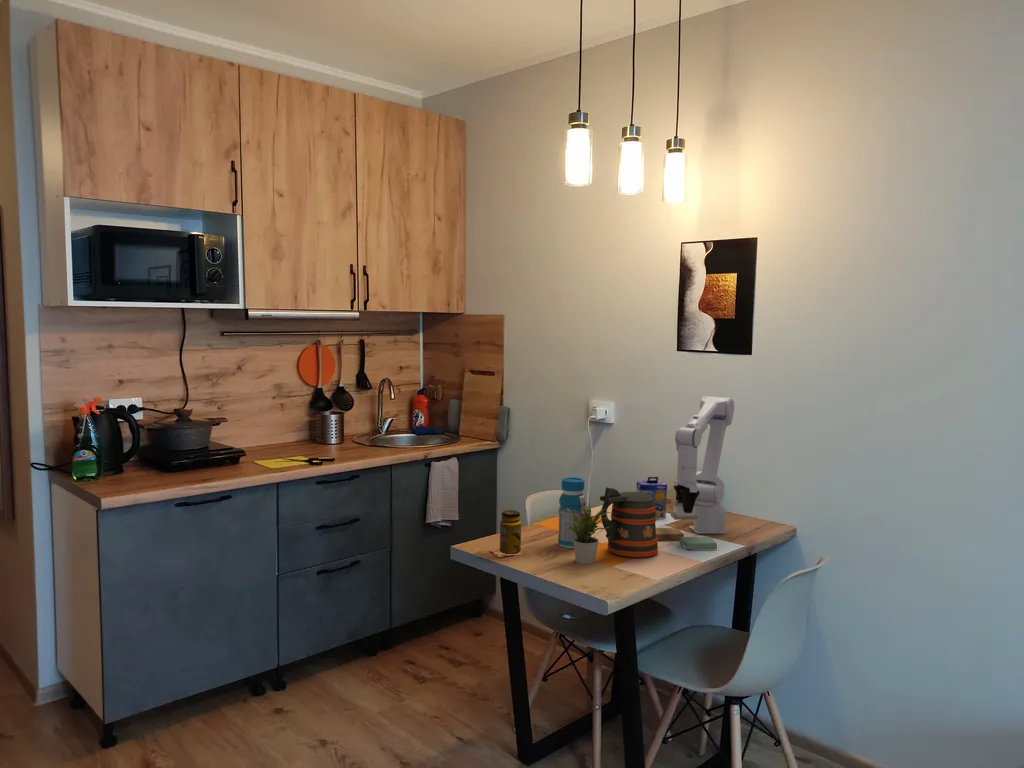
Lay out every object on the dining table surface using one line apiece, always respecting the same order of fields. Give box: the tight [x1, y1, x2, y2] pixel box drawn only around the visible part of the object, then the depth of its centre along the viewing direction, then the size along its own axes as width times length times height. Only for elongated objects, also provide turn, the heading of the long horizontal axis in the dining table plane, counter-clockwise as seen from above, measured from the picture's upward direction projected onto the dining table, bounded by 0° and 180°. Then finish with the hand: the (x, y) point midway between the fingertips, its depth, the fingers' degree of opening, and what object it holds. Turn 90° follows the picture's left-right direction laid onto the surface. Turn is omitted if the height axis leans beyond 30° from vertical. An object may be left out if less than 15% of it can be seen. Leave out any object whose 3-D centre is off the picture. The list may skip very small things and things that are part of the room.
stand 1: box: [656, 527, 685, 541], centre depth 233 cm, size 9×7×2 cm
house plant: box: [566, 504, 614, 566], centre depth 206 cm, size 14×14×16 cm
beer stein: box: [599, 487, 659, 559], centre depth 216 cm, size 19×15×20 cm
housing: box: [670, 499, 698, 521], centre depth 227 cm, size 7×4×5 cm, turn 94°
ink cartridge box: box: [635, 476, 668, 519], centre depth 258 cm, size 10×6×14 cm, turn 96°
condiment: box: [499, 509, 522, 554], centre depth 214 cm, size 7×8×12 cm
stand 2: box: [679, 536, 718, 550], centre depth 224 cm, size 9×7×2 cm
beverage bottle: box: [557, 476, 587, 549], centre depth 223 cm, size 8×8×20 cm
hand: (685, 510), depth 227 cm, fingers closed on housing, 4 cm apart
